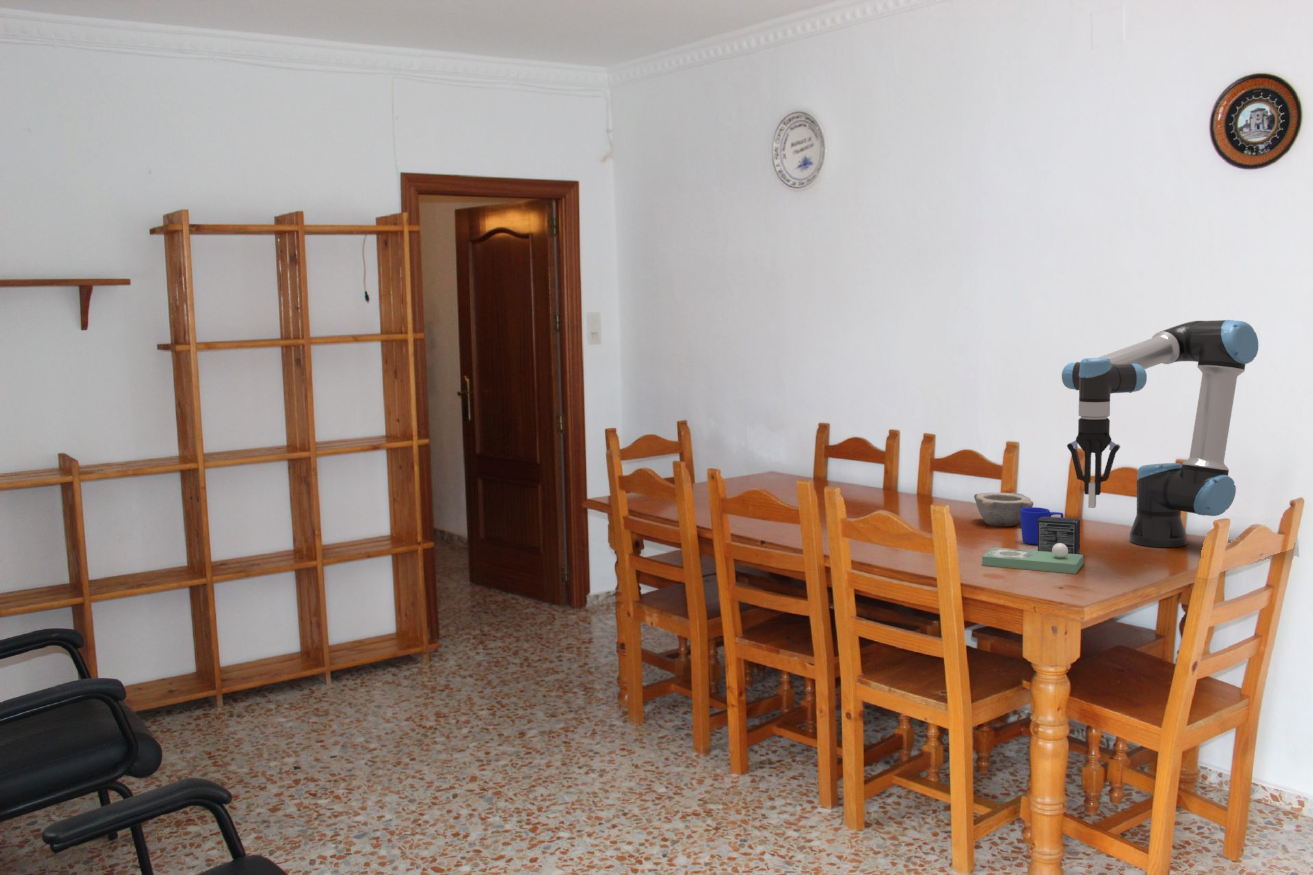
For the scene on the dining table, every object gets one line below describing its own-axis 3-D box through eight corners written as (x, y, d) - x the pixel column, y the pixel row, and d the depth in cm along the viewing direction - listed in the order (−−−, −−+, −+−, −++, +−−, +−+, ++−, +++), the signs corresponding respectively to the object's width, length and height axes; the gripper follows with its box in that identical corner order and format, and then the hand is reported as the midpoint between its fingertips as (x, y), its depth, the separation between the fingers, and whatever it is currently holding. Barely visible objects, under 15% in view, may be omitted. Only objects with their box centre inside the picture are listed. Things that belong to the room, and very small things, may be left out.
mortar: (1035, 529, 330) (1036, 500, 329) (980, 529, 332) (980, 500, 331) (1024, 519, 346) (1024, 491, 345) (971, 519, 349) (971, 491, 348)
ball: (1069, 556, 283) (1069, 542, 282) (1066, 560, 279) (1066, 545, 279) (1053, 555, 285) (1053, 541, 284) (1050, 558, 281) (1050, 544, 281)
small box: (1080, 554, 295) (1081, 517, 294) (1076, 559, 290) (1077, 522, 289) (1041, 551, 301) (1041, 515, 300) (1036, 556, 295) (1037, 519, 294)
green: (1083, 563, 285) (1083, 554, 284) (1075, 573, 274) (1075, 564, 274) (992, 555, 297) (992, 547, 297) (982, 565, 287) (982, 556, 286)
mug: (1065, 546, 306) (1065, 512, 304) (1021, 545, 308) (1022, 512, 307) (1060, 540, 314) (1060, 507, 312) (1018, 539, 316) (1018, 507, 315)
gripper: (1123, 416, 273) (1120, 506, 276) (1070, 415, 280) (1068, 502, 283) (1119, 419, 267) (1117, 511, 269) (1064, 418, 273) (1063, 507, 276)
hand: (1092, 506), depth 276 cm, fingers closed
